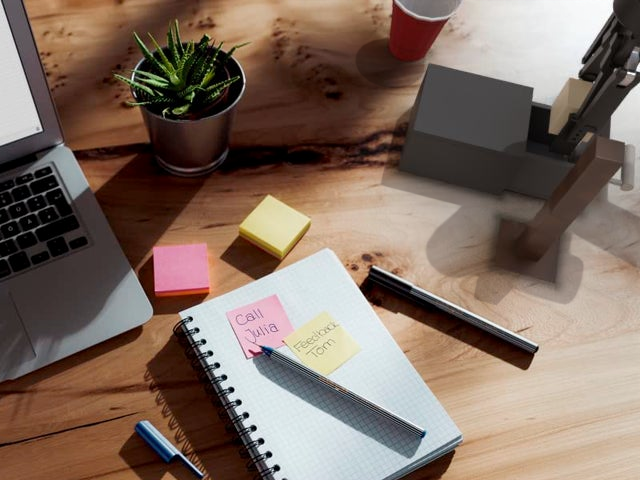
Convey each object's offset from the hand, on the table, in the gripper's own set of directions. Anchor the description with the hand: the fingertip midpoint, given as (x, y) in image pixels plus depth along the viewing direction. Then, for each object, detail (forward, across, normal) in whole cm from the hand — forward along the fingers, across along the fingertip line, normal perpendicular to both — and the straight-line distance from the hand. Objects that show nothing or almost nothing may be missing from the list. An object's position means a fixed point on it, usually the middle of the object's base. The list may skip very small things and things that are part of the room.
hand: (561, 135), depth 88 cm
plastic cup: (+9, -18, -22) cm, 30 cm away
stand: (+9, +14, 0) cm, 16 cm away
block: (-2, 0, 0) cm, 2 cm away
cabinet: (+9, 0, -12) cm, 15 cm away
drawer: (+8, 0, +2) cm, 8 cm away
